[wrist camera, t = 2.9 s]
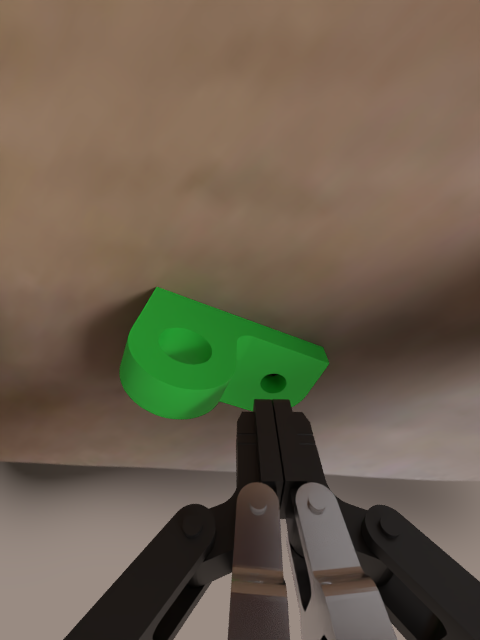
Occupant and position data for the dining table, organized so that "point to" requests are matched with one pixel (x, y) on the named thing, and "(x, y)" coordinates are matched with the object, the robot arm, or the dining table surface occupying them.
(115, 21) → the dining table surface
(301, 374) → the mechanical part
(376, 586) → the robot arm
